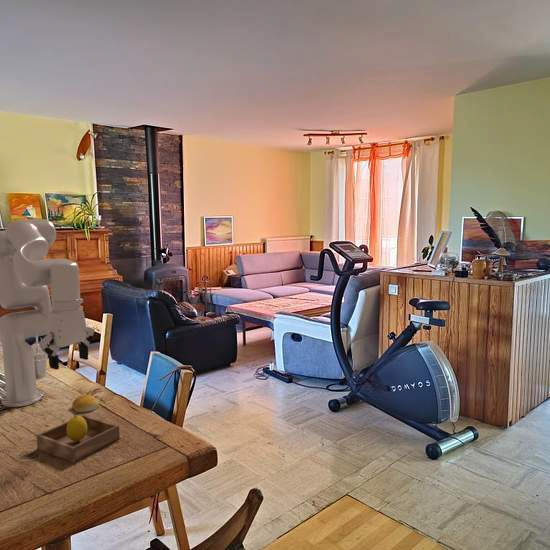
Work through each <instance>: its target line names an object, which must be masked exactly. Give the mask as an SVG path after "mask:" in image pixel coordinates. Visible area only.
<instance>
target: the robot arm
mask: <svg viewBox="0 0 550 550" xmlns="http://www.w3.org/2000/svg"><path fill="white" fill-rule="evenodd" d="M56 239H57V229H56V227H55V225H54V224H53V222H51V221H50V220H48V219H43V218H42V219H39V218H38V219H35V218H34V219H16V220H13V221H10V222H9V223H7V226H6V228H5V229H4V230H0V307H1V308H3V309H6V310H12V309H23V308H29V307H33V308H34V309H32V310H31V309H30V310H24V311H23V310H22V311H17V312H16V311H15V312H10V313H7V314H4V315H2V316H0V342H1V350H2V358H3V371H4V383H5V385H4V386H5V388H4V387H3V389H2V391H3V392H4V393H5V397H3V398H2V399H1V405H2V406H4V407H7V408H19V407H24V406H29V405H32V404H35V403H37V402H39V401H40V400H41V399H42V398H43V394H42V392H40V391H37V378H36V375H35V361H34V351H33V349H32V347H31V345H30V344H29V343H28V342H27V341H26V340H28V339H30V338H36V337H37V336H38V337H42V336H44V338H42V340H40V341H38V343H39V345H40V347H41V348H42V351H44V352H45V353H46V354H47V355H48V364H49V368H50V369H53V370H59V369H60V363H59V362H60V361H59V355H57V354H58V352H59V350H60V349H61V348H65V347H68V346H72V345H75V344H79V346H78V357H79V359H81V360H85V361H87V360H89V346H90V345H91V344H90V343H91V342H92V340H93V337H94V334H95V329H94V328H91V327H90V326H87V324H86V317H85V313H84V310H83V307H82V305H81V304H82V303H84V299H83V298H81V287H80V285H81V284H80V268H79V264H78V263H77V262H75V261H71V260H70V259H68V258H64V257H63V258H61V257H60V258H59V257H58V258H45V257H46V256H48V252H49V251H50V247H51V246H52V245H53V244H54V243H55V242H56ZM49 286H50V288H49ZM49 289H50V290H49ZM48 345H49V346H48Z"/></svg>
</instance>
